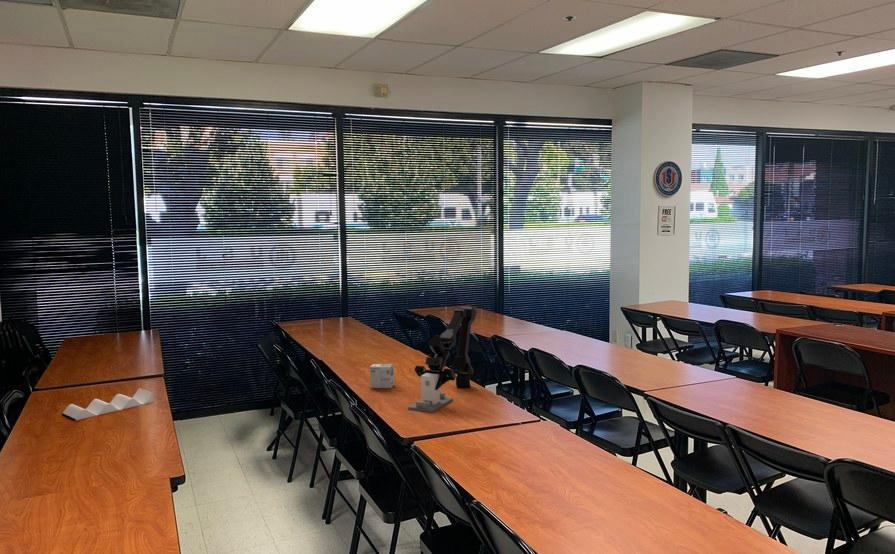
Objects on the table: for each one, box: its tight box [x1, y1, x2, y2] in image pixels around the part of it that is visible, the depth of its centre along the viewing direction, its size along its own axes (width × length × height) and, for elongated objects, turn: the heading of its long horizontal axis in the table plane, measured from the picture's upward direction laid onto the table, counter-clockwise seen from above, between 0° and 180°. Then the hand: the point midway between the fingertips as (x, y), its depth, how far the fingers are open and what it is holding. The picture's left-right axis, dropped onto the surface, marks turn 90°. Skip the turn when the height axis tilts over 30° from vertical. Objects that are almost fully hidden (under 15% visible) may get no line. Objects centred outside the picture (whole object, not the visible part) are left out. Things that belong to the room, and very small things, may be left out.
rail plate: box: [407, 391, 454, 413], centre depth 299 cm, size 20×12×3 cm, turn 153°
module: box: [420, 373, 441, 405], centre depth 298 cm, size 6×6×12 cm
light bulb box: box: [369, 363, 395, 389], centre depth 331 cm, size 11×7×11 cm, turn 84°
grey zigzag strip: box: [61, 387, 154, 422], centre depth 300 cm, size 13×35×5 cm, turn 141°
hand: (428, 389), depth 297 cm, fingers closed on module, 6 cm apart
